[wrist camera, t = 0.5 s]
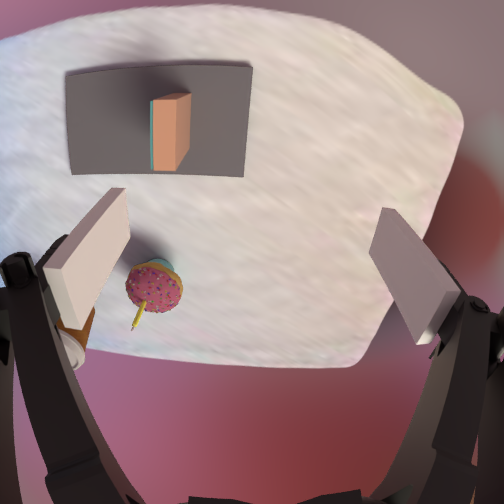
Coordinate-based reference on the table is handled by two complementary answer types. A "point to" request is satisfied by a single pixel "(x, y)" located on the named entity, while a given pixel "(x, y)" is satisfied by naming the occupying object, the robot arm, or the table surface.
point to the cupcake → (153, 287)
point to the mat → (138, 118)
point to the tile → (169, 130)
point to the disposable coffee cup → (76, 340)
